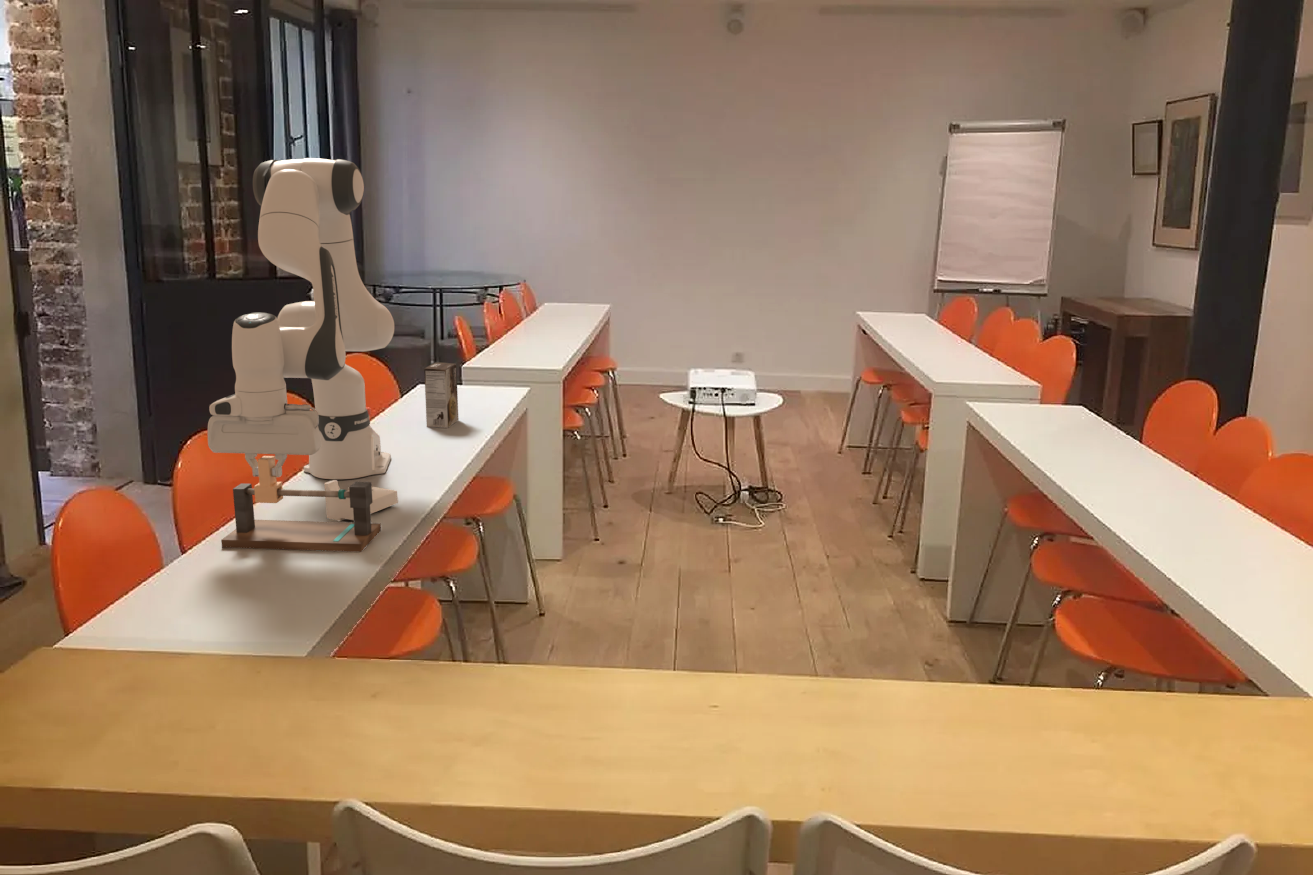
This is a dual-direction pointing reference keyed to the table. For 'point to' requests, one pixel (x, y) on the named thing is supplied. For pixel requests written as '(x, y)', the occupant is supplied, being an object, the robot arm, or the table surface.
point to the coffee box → (441, 394)
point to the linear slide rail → (304, 523)
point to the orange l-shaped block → (267, 482)
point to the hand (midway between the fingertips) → (267, 476)
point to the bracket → (341, 507)
